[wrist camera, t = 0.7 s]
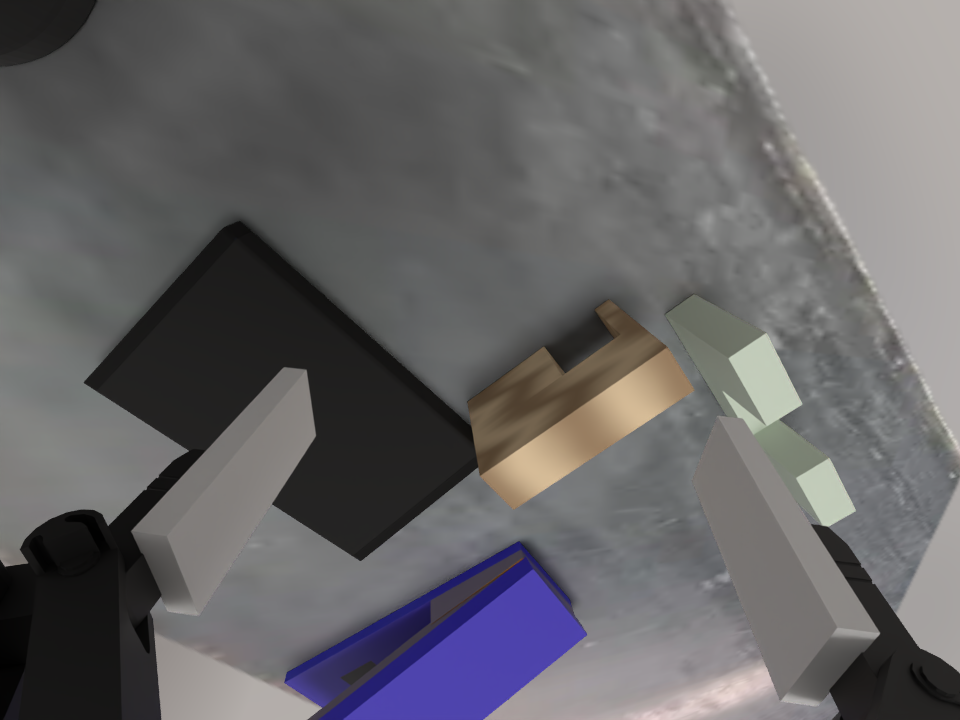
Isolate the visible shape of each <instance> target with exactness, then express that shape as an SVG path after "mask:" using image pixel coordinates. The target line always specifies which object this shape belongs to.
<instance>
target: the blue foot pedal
mask: <svg viewBox="0 0 960 720" xmlns="http://www.w3.org/2000/svg"><path fill="white" fill-rule="evenodd" d="M586 635H587V633H586V632H585V630H584V628H583V627H582V625H581V624H580V622H579V621H578V619H577V618H576V617H575V615H574V612H573V609H572V606H571V603H570V600H569V598H568V597H567V596H566V595H565V594H564V592H563V591H562V590H561V589H560V588H559V587H558V586H557V584H556V583H555V582H554V581H553V580H552V579H551V577H550V576H549V575H548V574H547V573H546V572H545V571H544V569H543V568H542V567H541V566H540V565H539V564H538V563H537V561H536V560H535V559H534V558H533V557H532V556H531V555H530V553H529V552H528V551H527V550H526V549H525V548H524V547H523V545H522V544H521V543H520V542H517V543H515V544H513V545H512V546H510V547H508V548H506V549H504V550H503V551H501V552H499V553H497V554H496V555H494V556H492V557H490V558H489V559H487V560H485V561H483V562H482V563H480V564H478V565H476V566H474V567H473V568H471V569H469V570H467V571H466V572H464V573H462V574H460V575H459V576H457V577H455V578H453V579H451V580H450V581H448V582H446V583H444V584H443V585H441V586H439V587H437V588H436V589H434V590H432V591H430V592H429V593H427V594H425V595H423V596H421V597H420V598H418V599H416V600H414V601H413V602H411V603H409V604H407V605H406V606H404V607H402V608H400V609H398V610H397V611H395V612H393V613H391V614H390V615H388V616H386V617H384V618H383V619H381V620H379V621H377V622H376V623H374V624H372V625H370V626H368V627H367V628H365V629H363V630H361V631H360V632H358V633H356V634H354V635H353V636H351V637H349V638H347V639H345V640H344V641H342V642H340V643H338V644H337V645H335V646H333V647H331V648H330V649H328V650H326V651H324V652H323V653H321V654H319V655H317V656H315V657H314V658H312V659H310V660H308V661H307V662H305V663H303V664H301V665H300V666H298V667H296V668H294V669H292V670H291V671H289V672H287V674H286V678H285V682H284V683H285V684H287V685H288V686H290V687H292V688H293V689H295V690H296V691H298V692H299V693H301V694H302V695H304V696H305V697H307V698H309V699H310V700H312V701H313V702H315V703H316V704H318V705H319V706H321V707H322V709H321V710H319V711H318V712H317V713H316V714H314V715H313V716H312V717H310V718H309V719H308V720H483V719H485V718H486V717H487V716H488V715H489V714H491V713H492V712H493V711H494V710H496V709H497V708H498V707H499V706H500V705H502V704H503V703H504V702H505V701H507V700H508V699H509V698H510V697H512V696H513V695H514V694H515V693H516V692H518V691H519V690H520V689H521V688H523V687H524V686H525V685H526V684H527V683H529V682H530V681H531V680H532V679H534V678H535V677H536V676H537V675H538V674H540V673H541V672H542V671H543V670H545V669H546V668H547V667H548V666H550V665H551V664H552V663H553V662H554V661H556V660H557V659H558V658H559V657H561V656H562V655H563V654H564V653H565V652H567V651H568V650H569V649H570V648H572V647H573V646H574V645H575V644H577V643H578V642H579V641H580V640H581V639H583V638H584V637H585V636H586Z"/></svg>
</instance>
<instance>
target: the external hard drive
mask: <svg viewBox="0 0 960 720" xmlns="http://www.w3.org/2000/svg"><path fill="white" fill-rule="evenodd" d="M284 367H286V368H295V369H304V370H307V377H308V383H309V390H310V397H311V404H312V411H313V418H314V425H315V432H316V437H315V438H314V440H313V441H312V443H311V444H310V446H309V447H308V449H307V451H306V452H305V454H304V455H303V457H302V458H301V460H300V461H299V463H298V464H297V466H296V467H295V469H294V471H293V472H292V474H291V475H290V477H289V478H288V480H287V481H286V483H285V484H284V486H283V488H282V489H281V491H280V492H279V494H278V495H277V497H276V498H275V500H274V501H273V503H272V504H273V505H274V506H276V507H277V508H279V509H280V510H282V511H283V512H285V513H287V514H288V515H290V516H291V517H293V518H294V519H296V520H297V521H299V522H300V523H302V524H304V525H305V526H307V527H308V528H310V529H311V530H313V531H314V532H316V533H318V534H319V535H321V536H322V537H324V538H325V539H327V540H328V541H330V542H332V543H333V544H335V545H336V546H338V547H339V548H341V549H342V550H344V551H346V552H347V553H349V554H350V555H352V556H353V557H355V558H356V559H358V560H359V561H362V560H363V559H364V558H365V557H367V556H368V555H369V554H370V553H372V552H373V551H374V550H375V549H377V548H378V547H379V546H380V545H382V544H383V543H384V542H385V541H387V540H388V539H389V538H390V537H392V536H393V535H394V534H395V533H397V532H398V531H399V530H400V529H402V528H403V527H404V526H405V525H407V524H408V523H409V522H410V521H412V520H413V519H414V518H415V517H417V516H418V515H419V514H420V513H421V512H423V511H424V510H425V509H426V508H428V507H429V506H430V505H431V504H433V503H434V502H435V501H436V500H438V499H439V498H440V497H441V496H443V495H444V494H445V493H446V492H448V491H449V490H450V489H451V488H453V487H454V486H455V485H456V484H458V483H459V482H460V481H461V480H463V479H464V478H465V477H466V476H468V475H469V474H470V473H471V472H473V471H474V470H475V469H476V468H478V462H477V456H476V450H475V444H474V438H473V432H472V427H471V426H470V425H469V424H468V423H466V422H465V421H464V420H463V419H462V418H461V417H460V416H459V415H457V414H456V413H455V412H454V411H453V410H452V409H451V408H450V407H449V406H447V405H446V404H445V403H444V402H443V401H442V400H441V399H440V398H438V397H437V396H436V395H435V394H434V393H433V392H432V391H431V390H429V389H428V388H427V387H426V386H425V385H424V384H423V383H422V382H420V381H419V380H418V379H417V378H416V377H415V376H414V375H413V374H411V373H410V372H409V371H408V370H407V369H406V368H405V367H404V366H402V365H401V364H400V363H399V362H398V361H397V360H396V359H395V358H393V357H392V356H391V355H390V354H389V353H388V352H387V351H386V350H384V349H383V348H382V347H381V346H380V345H379V344H378V343H377V342H375V341H374V340H373V339H372V338H371V337H370V336H369V335H368V334H366V333H365V332H364V331H363V330H362V329H361V328H360V327H359V326H357V325H356V324H355V323H354V322H353V321H352V320H351V319H350V318H348V317H347V316H346V315H345V314H344V313H343V312H342V311H341V310H340V309H338V308H337V307H336V306H335V305H334V304H333V303H332V302H331V301H329V300H328V299H327V298H326V297H325V296H324V295H323V294H322V293H320V292H319V291H318V290H317V289H316V288H315V287H314V286H313V285H311V284H310V283H309V282H308V281H307V280H306V279H305V278H304V277H302V276H301V275H300V274H299V273H298V272H297V271H296V270H295V269H293V268H292V267H291V266H290V265H289V264H288V263H287V262H286V261H284V260H283V259H282V258H281V257H280V256H279V255H278V254H277V253H275V252H274V251H273V250H272V249H271V248H270V247H269V246H268V245H266V244H265V243H264V242H263V241H262V240H261V239H260V238H259V237H257V236H256V235H255V234H254V233H253V232H251V230H250V229H248V228H247V227H246V226H245V225H244V224H243V223H242V222H241V221H239V222H236V223H234V224H231V225H229V226H226V227H224V228H223V229H222V230H221V231H220V232H219V233H218V234H217V235H216V236H215V237H214V239H213V240H212V241H211V242H210V243H209V244H208V245H207V246H206V247H205V249H204V250H203V251H202V252H201V253H200V254H199V255H198V256H197V257H196V259H195V260H194V261H193V262H192V263H191V264H190V265H189V266H188V267H187V269H186V270H185V271H184V272H183V273H182V274H181V275H180V276H179V277H178V278H177V280H176V281H175V282H174V283H173V284H172V285H171V286H170V287H169V288H168V290H167V291H166V292H165V293H164V294H163V295H162V296H161V297H160V298H159V300H158V301H157V302H156V303H155V304H154V305H153V306H152V307H151V308H150V310H149V311H148V312H147V313H146V314H145V315H144V316H143V317H142V318H141V319H140V321H139V322H138V323H137V324H136V325H135V326H134V327H133V328H132V329H131V331H130V332H129V333H128V334H127V335H126V336H125V337H124V338H123V339H122V341H121V342H120V343H119V344H118V345H117V346H116V347H115V348H114V349H113V351H112V352H111V353H110V354H109V355H108V356H107V357H106V358H105V359H104V360H103V362H102V363H101V364H100V365H99V366H98V367H97V368H96V369H95V370H94V372H93V373H92V374H91V375H90V376H89V377H88V378H87V379H86V380H85V382H84V383H85V384H86V385H88V386H89V387H91V388H92V389H94V390H96V391H97V392H99V393H100V394H102V395H103V396H105V397H106V398H108V399H110V400H111V401H113V402H114V403H116V404H117V405H119V406H120V407H122V408H124V409H125V410H127V411H128V412H130V413H131V414H133V415H134V416H136V417H137V418H139V419H141V420H142V421H144V422H145V423H147V424H148V425H150V426H151V427H153V428H155V429H156V430H158V431H159V432H161V433H162V434H164V435H165V436H167V437H169V438H170V439H172V440H173V441H175V442H176V443H178V444H179V445H181V446H183V447H184V448H186V449H187V450H189V451H190V450H192V449H199V450H207V449H208V448H209V447H210V446H211V445H212V444H213V443H214V442H215V441H216V440H217V438H218V437H219V436H220V435H221V434H222V433H223V432H224V431H225V430H226V429H227V428H228V427H229V426H230V424H231V423H232V422H233V421H234V420H235V419H236V418H237V417H238V416H239V415H240V414H241V413H242V412H243V411H244V409H245V408H246V407H247V406H248V405H249V404H250V403H251V402H252V401H253V400H254V399H255V398H256V397H257V396H258V394H259V393H260V392H261V391H262V390H263V389H264V388H265V387H266V386H267V385H268V384H269V383H270V382H271V380H272V379H273V378H274V377H275V376H276V375H277V374H278V373H279V372H280V371H281V370H282V369H283V368H284Z"/></svg>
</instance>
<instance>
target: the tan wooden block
mask: <svg viewBox="0 0 960 720" xmlns="http://www.w3.org/2000/svg"><path fill="white" fill-rule="evenodd" d="M595 311H596V313H597V314H598V316H599V317H600V319H601V320H602V322H603V323H604V324H605V326H606V327H607V329H608V330H609V332H610V333H611V335H612V336H613V338H614V339H613V340H612V341H611V342H609V343H608V344H606V345H605V346H604V347H602V348H601V349H599V350H598V351H596V352H595V353H594V354H592V355H591V356H589V357H588V358H587V359H585V360H584V361H582V362H581V363H579V364H578V365H577V366H575V367H574V368H572V369H571V370H570V371H568V372H567V373H564V371H563V370H562V369H561V368H560V366H559V365H558V364H557V362H556V361H555V360H554V359H553V357H552V356H551V355H550V353H549V352H548V351H547V349H546V348H545V347H542V348H541V349H540V350H538V351H537V352H535V353H534V354H533V355H531V356H530V357H529V358H527V359H526V360H524V361H523V362H522V363H520V364H519V365H518V366H516V367H515V368H513V369H512V370H511V371H509V372H508V373H507V374H505V375H504V376H502V377H501V378H500V379H498V380H497V381H496V382H494V383H493V384H491V385H490V386H489V387H487V388H486V389H484V390H483V391H482V392H480V393H479V394H478V395H476V396H475V397H473V398H472V399H471V400H469V401H468V408H469V414H470V420H471V426H472V432H473V438H474V444H475V450H476V456H477V462H478V468H479V473H480V477H481V478H482V479H483V480H484V481H485V482H486V483H487V484H488V485H489V486H490V487H491V488H492V489H493V490H494V491H495V492H496V493H497V494H498V495H499V496H500V497H501V498H502V499H503V500H504V501H505V502H506V503H507V504H508V505H509V506H510V507H511V508H512V509H513V510H514V509H516V508H517V507H519V506H520V505H522V504H523V503H525V502H526V501H528V500H529V499H531V498H532V497H534V496H535V495H537V494H538V493H540V492H541V491H543V490H544V489H546V488H547V487H549V486H550V485H552V484H553V483H555V482H556V481H558V480H559V479H561V478H562V477H564V476H566V475H567V474H569V473H570V472H572V471H573V470H575V469H576V468H578V467H579V466H581V465H582V464H584V463H585V462H587V461H588V460H590V459H591V458H593V457H594V456H596V455H597V454H599V453H600V452H602V451H603V450H605V449H606V448H608V447H609V446H611V445H612V444H614V443H615V442H617V441H618V440H620V439H621V438H623V437H625V436H626V435H628V434H629V433H631V432H632V431H634V430H635V429H637V428H638V427H640V426H641V425H643V424H644V423H646V422H647V421H649V420H650V419H652V418H653V417H655V416H656V415H658V414H659V413H661V412H662V411H664V410H665V409H667V408H668V407H670V406H671V405H673V404H674V403H676V402H677V401H679V400H680V399H682V398H684V397H685V396H687V395H688V394H690V393H691V392H693V391H694V388H693V387H692V385H691V384H690V382H689V380H688V379H687V377H686V376H685V374H684V372H683V371H682V369H681V368H680V366H679V364H678V363H677V361H676V360H675V358H674V356H673V355H672V353H671V352H670V350H669V349H668V347H667V346H666V345H664V344H663V343H662V342H661V341H659V340H658V339H657V338H656V337H655V336H653V335H652V334H651V333H650V332H648V331H647V330H646V329H645V328H644V327H642V326H641V325H640V324H639V323H637V322H636V321H635V320H634V319H632V318H631V317H630V316H629V315H628V314H626V313H625V312H624V311H623V310H621V309H620V308H619V307H618V306H616V305H615V304H614V303H613V302H612V301H610V300H609V299H608V300H607V301H606V302H604V303H603V304H602V305H600V306H599V307H597V308H596V309H595Z"/></svg>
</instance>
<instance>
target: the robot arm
mask: <svg viewBox="0 0 960 720" xmlns="http://www.w3.org/2000/svg"><path fill="white" fill-rule="evenodd" d="M94 2H95V0H0V66H11V65H17V64H22V63H26V62H29V61H33V60H35V59H38V58H41V57H43V56H45V55H47V54H49V53H51V52H53V51H54V50H56V49H57V48H59V47H60V46H61V45H63V44H64V43H65V42H66V41H68V40H69V39H70V38H71V37H72V36H73V35H74V34H75V33H76V31H77V30H78V29H79V28H80V27H81V25H82V24H83V22H84V21H85V19H86V18H87V16H88V14H89V12H90V11H91V9H92V7H93V4H94ZM315 437H316V432H315V425H314V418H313V411H312V404H311V397H310V390H309V383H308V377H307V370H304V369H295V368H286V367H284V368H283V369H282V370H281V371H280V372H279V373H278V374H277V375H276V376H275V377H274V378H273V379H272V380H271V382H270V383H269V384H268V385H267V386H266V387H265V388H264V389H263V390H262V391H261V392H260V393H259V394H258V396H257V397H256V398H255V399H254V400H253V401H252V402H251V403H250V404H249V405H248V406H247V407H246V408H245V409H244V411H243V412H242V413H241V414H240V415H239V416H238V417H237V418H236V419H235V420H234V421H233V422H232V423H231V424H230V426H229V427H228V428H227V429H226V430H225V431H224V432H223V433H222V434H221V435H220V436H219V437H218V438H217V440H216V441H215V442H214V443H213V444H212V445H211V446H210V447H209V448H208V449H207V450H199V449H192V450H190V451H189V452H187V453H185V454H184V455H182V456H180V457H179V458H177V459H175V460H174V461H173V462H172V463H171V464H170V465H169V466H168V467H167V468H166V469H165V470H164V471H163V472H162V473H161V474H160V475H159V478H156V479H155V480H154V481H153V482H152V483H151V484H150V485H149V486H148V487H147V490H144V491H143V492H142V493H141V494H140V495H139V496H138V497H137V498H136V499H135V500H134V501H133V502H132V503H131V504H130V505H129V506H128V507H127V508H126V509H125V510H124V511H123V512H122V513H121V514H120V515H119V516H118V517H117V518H116V519H115V520H114V521H113V522H112V523H111V524H110V525H109V526H108V525H107V523H106V521H105V519H104V517H103V515H102V514H101V513H99V512H97V511H95V510H77V511H72V512H67V513H64V514H62V515H59V516H57V517H55V518H52V519H50V520H48V521H47V522H45V523H44V524H42V525H40V526H39V527H37V528H36V529H35V530H34V531H33V532H32V533H31V534H30V535H29V536H28V537H27V538H26V539H25V540H24V542H23V544H22V546H21V549H20V550H21V552H22V554H23V555H24V557H25V558H26V560H27V561H28V564H21V565H14V566H7V567H5V566H4V565H3V563H2V562H1V560H0V720H161V710H160V699H159V686H158V674H157V662H156V651H155V638H154V626H153V618H152V616H151V614H150V610H151V609H152V607H153V606H154V605H155V603H156V602H157V601H158V599H159V598H160V597H161V598H162V600H163V602H164V604H165V607H166V609H167V611H168V612H175V613H181V614H188V615H195V616H199V615H200V614H201V612H202V611H203V609H204V608H205V606H206V605H207V603H208V602H209V600H210V599H211V597H212V595H213V594H214V592H215V591H216V589H217V588H218V586H219V585H220V583H221V582H222V580H223V578H224V577H225V575H226V574H227V572H228V571H229V569H230V568H231V566H232V565H233V563H234V562H235V560H236V558H237V557H238V555H239V554H240V552H241V551H242V549H243V548H244V546H245V545H246V543H247V541H248V540H249V538H250V537H251V535H252V534H253V532H254V531H255V529H256V528H257V526H258V525H259V523H260V521H261V520H262V518H263V517H264V515H265V514H266V512H267V511H268V509H269V508H270V506H271V504H272V503H273V501H274V500H275V498H276V497H277V495H278V494H279V492H280V491H281V489H282V488H283V486H284V484H285V483H286V481H287V480H288V478H289V477H290V475H291V474H292V472H293V471H294V469H295V467H296V466H297V464H298V463H299V461H300V460H301V458H302V457H303V455H304V454H305V452H306V451H307V449H308V447H309V446H310V444H311V443H312V441H313V440H314V438H315ZM692 483H693V485H694V488H695V490H696V493H697V495H698V498H699V500H700V503H701V505H702V508H703V510H704V513H705V515H706V518H707V520H708V523H709V525H710V528H711V530H712V533H713V535H714V538H715V540H716V543H717V545H718V547H719V550H720V552H721V555H722V557H723V560H724V562H725V565H726V567H727V570H728V572H729V575H730V577H731V580H732V582H733V585H734V587H735V590H736V592H737V595H738V597H739V600H740V602H741V605H742V607H743V610H744V612H745V615H746V617H747V619H748V622H749V624H750V627H751V629H752V632H753V634H754V637H755V639H756V642H757V644H758V647H759V649H760V652H761V654H762V657H763V659H764V662H765V664H766V667H767V669H768V672H769V674H770V677H771V679H772V682H773V684H774V687H775V689H776V692H777V694H778V696H779V699H780V701H782V702H788V703H795V704H802V705H809V706H816V707H817V706H818V705H819V704H820V703H821V702H822V701H823V699H824V698H825V697H826V696H827V695H828V694H829V692H830V693H831V695H832V697H833V699H834V701H835V703H836V705H837V707H838V709H839V712H838V714H837V715H836V716H835V717H834V718H833V719H832V720H960V673H959V672H958V671H957V670H955V669H954V668H953V667H952V666H950V665H949V664H947V663H946V662H945V661H943V660H942V659H941V658H939V657H937V656H935V655H933V654H931V653H929V652H927V651H925V650H922V649H920V648H919V647H918V646H917V644H916V643H915V641H914V640H913V638H912V637H911V636H910V634H909V633H908V631H907V630H906V628H905V627H904V626H903V624H902V623H901V621H900V620H899V618H898V617H897V615H896V614H895V612H894V611H893V610H892V608H891V607H890V605H889V604H888V602H887V601H886V599H885V598H884V597H883V595H882V594H881V592H880V591H879V589H878V588H877V586H876V585H875V584H872V579H871V578H870V576H869V575H868V574H867V572H866V571H865V569H864V568H861V563H860V562H859V561H858V559H857V558H856V556H855V555H854V553H853V552H852V550H851V549H850V548H849V546H848V545H847V544H846V543H845V542H844V541H843V540H842V539H841V538H840V537H839V536H837V535H836V534H835V533H834V532H833V531H832V530H831V529H830V528H828V527H827V526H821V525H813V524H810V523H809V521H808V519H807V518H806V516H805V515H804V513H803V512H802V510H801V508H800V507H799V505H798V504H797V502H796V501H795V499H794V498H793V496H792V494H791V493H790V491H789V490H788V488H787V487H786V485H785V483H784V482H783V480H782V479H781V477H780V476H779V474H778V473H777V471H776V469H775V468H774V466H773V465H772V463H771V462H770V460H769V458H768V457H767V455H766V454H765V452H764V451H763V449H762V447H761V446H760V444H759V443H758V441H757V440H756V438H755V437H754V435H753V433H752V432H751V430H750V429H749V427H748V426H747V424H746V422H745V421H744V419H743V418H734V417H725V416H717V419H716V421H715V424H714V426H713V429H712V431H711V434H710V436H709V439H708V441H707V444H706V446H705V449H704V451H703V454H702V456H701V459H700V462H699V464H698V467H697V469H696V472H695V474H694V477H693V479H692Z"/></svg>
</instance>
